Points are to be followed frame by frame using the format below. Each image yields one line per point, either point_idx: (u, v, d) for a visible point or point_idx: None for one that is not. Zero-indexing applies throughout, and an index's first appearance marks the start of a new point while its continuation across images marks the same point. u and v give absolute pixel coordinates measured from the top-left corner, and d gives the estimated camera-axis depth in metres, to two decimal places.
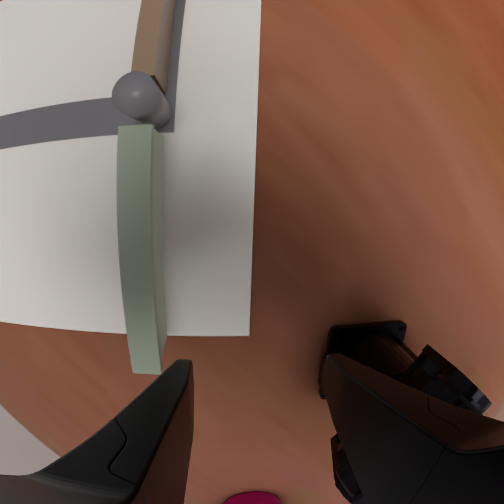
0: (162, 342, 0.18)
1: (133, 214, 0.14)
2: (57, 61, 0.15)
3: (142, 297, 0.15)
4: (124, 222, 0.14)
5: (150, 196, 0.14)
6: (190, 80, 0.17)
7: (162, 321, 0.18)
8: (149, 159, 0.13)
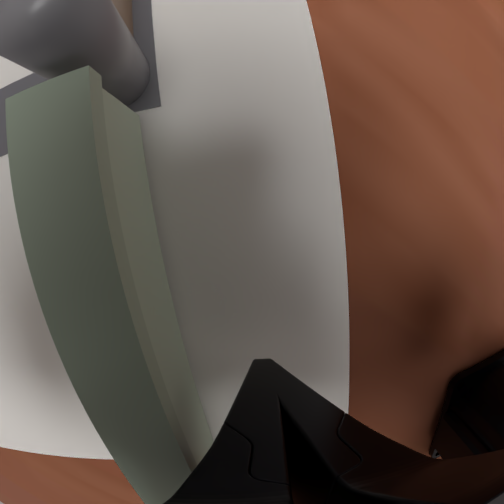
0: None
1: (90, 333, 0.05)
2: None
3: (171, 481, 0.06)
4: (75, 354, 0.05)
5: (123, 277, 0.05)
6: (177, 8, 0.07)
7: None
8: (95, 168, 0.04)
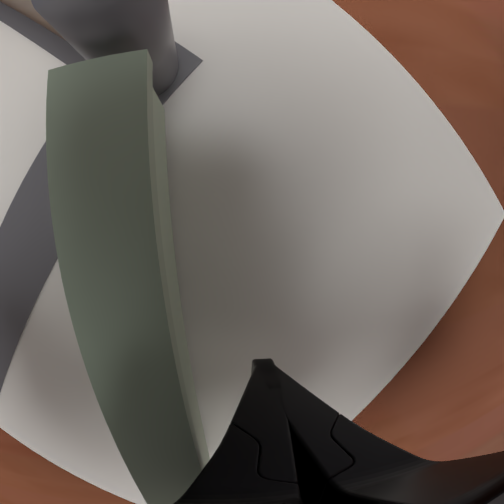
0: None
1: (118, 325, 0.05)
2: None
3: (178, 479, 0.06)
4: (98, 346, 0.05)
5: (161, 269, 0.05)
6: None
7: (205, 455, 0.09)
8: (146, 154, 0.04)
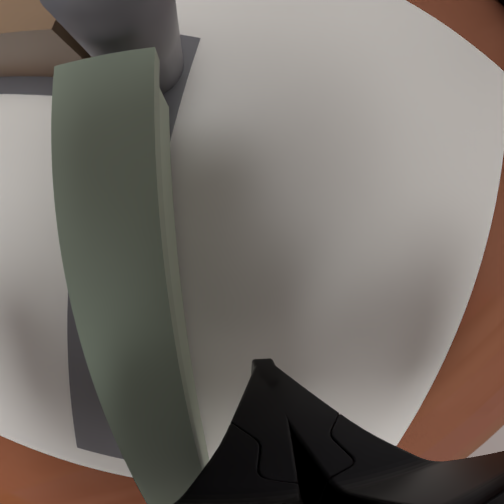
0: None
1: (121, 323, 0.05)
2: None
3: (178, 478, 0.06)
4: (100, 344, 0.05)
5: (165, 268, 0.05)
6: None
7: (204, 455, 0.09)
8: (152, 153, 0.04)
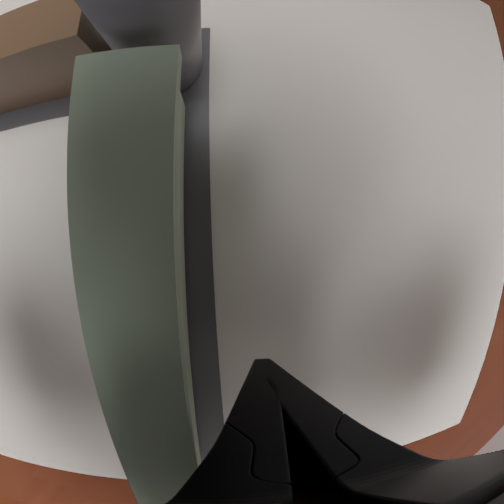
0: None
1: (127, 321, 0.05)
2: (50, 309, 0.09)
3: (171, 479, 0.05)
4: (104, 340, 0.05)
5: (175, 267, 0.05)
6: None
7: (197, 457, 0.09)
8: (169, 151, 0.04)
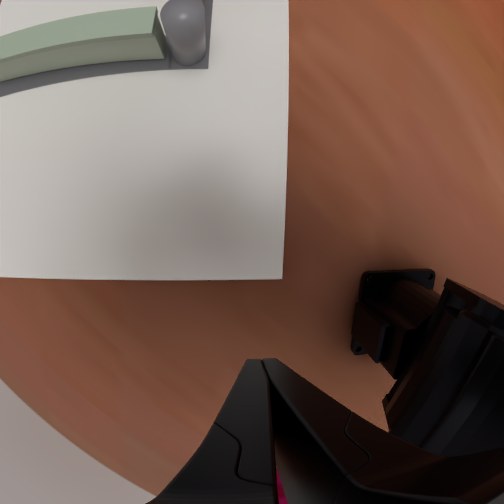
0: None
1: (76, 28, 0.11)
2: (88, 7, 0.14)
3: (14, 46, 0.10)
4: (71, 22, 0.11)
5: (88, 40, 0.11)
6: (224, 24, 0.16)
7: (4, 74, 0.13)
8: (118, 34, 0.11)
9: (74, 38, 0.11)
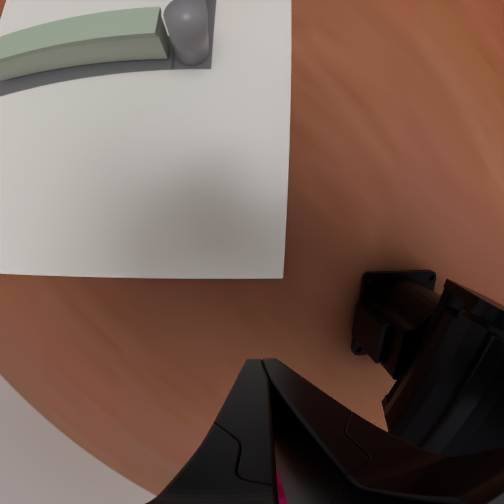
0: None
1: (80, 27, 0.11)
2: (92, 7, 0.14)
3: (18, 45, 0.11)
4: (76, 21, 0.11)
5: (92, 39, 0.12)
6: (227, 24, 0.16)
7: (9, 72, 0.13)
8: (122, 34, 0.12)
9: (78, 37, 0.11)
